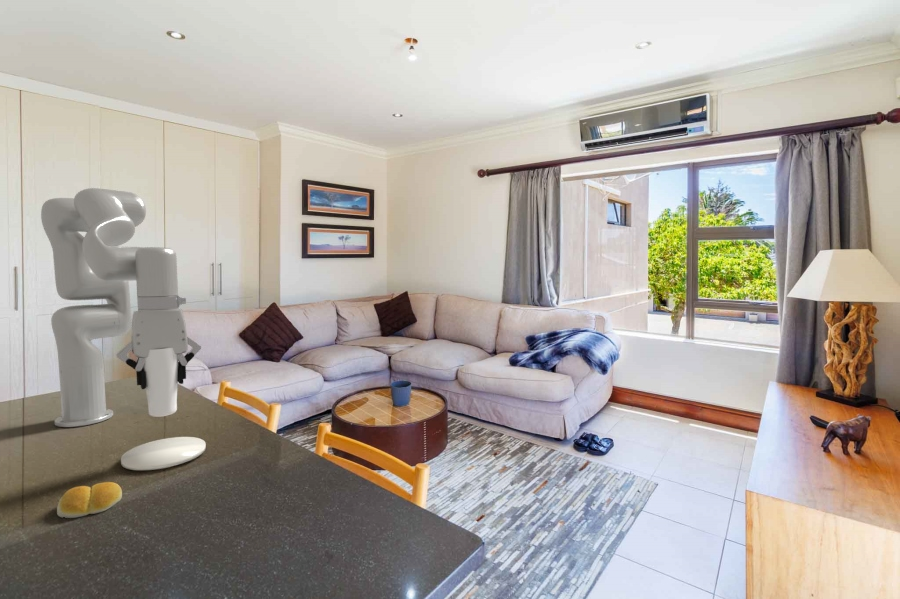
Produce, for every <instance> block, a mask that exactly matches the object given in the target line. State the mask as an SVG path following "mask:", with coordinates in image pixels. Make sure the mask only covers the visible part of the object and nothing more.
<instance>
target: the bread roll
mask: <svg viewBox="0 0 900 599" xmlns="http://www.w3.org/2000/svg"><path fill="white" fill-rule="evenodd" d="M122 497H123V490H122V487H121V486H120V485H119V484H118V483H116V482H111V481H105V482H99V483H96V484H93V485H92V486H91V487H90V486H87V485H81V486H75V487H72V488H70V489H68V490H67V491H65V492H64V494H63V495H62V496H61V497H60V498H59V501H58V503H57V507H56V514H57V516H58V517H60V518H63V517H65V518H64V519H66V518H67V519H75V518H80V517H85V516H88V515H89V514H90V515H94V514H98V513H99V514H100V513H103V512H105V511H107V510H109V509H111V508H113V507H114V506H115V505H116V504H118V503H119V502H120V501H121V500H122Z"/></svg>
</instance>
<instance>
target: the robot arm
mask: <svg viewBox="0 0 900 599" xmlns="http://www.w3.org/2000/svg"><path fill="white" fill-rule="evenodd" d="M40 210H41V211H40V219H41V224H42V228H43V231H44V232H45V235H46V237H47V239H48V241H49V242H50V246H51V248H52V254H53V255H52V257H53V268H54V279H55V280H54V281H55V282H54V283H55V287H56V292H57V295H58V296H59V297H60V298H61V299H63V300H65V301H66V300H67V301H93V300H106V303H104V304H103V303H102V304H100V303H99V304H81V305H69V306H65V307H61V308H59V309H57V310H55V311H54V313H53V314H52V316H51V320H50V322H51V323H50V325H51V329H52V333H53V337H54V339H55V344H56V345H55V346H56V351H57V358H58V359H57V360H58V375H59V389H60V390H59V392H60V407H61V415H60V416H58V417H56V418H55V419H54V425H55V426H56V427H60V428H61V427H62V428H73V427H74V428H76V427H82V426H88V425H93V424H97V423H101V422H104V421H107V420H109V419H111V418H112V417H113V416H114V411H113V409H109V408H107V404H106V403H107V400H106V386H105V385H106V381H105V364H104V356H103V352H102V351H101V349H99V347H98V346H96V345H95V344H94V343H93V342H92V340H98V339H106V338H115V337H121V336H124V335H127V334H129V332H130V331H131V338H130V339H131V340H130V341H129V342H128V343H127V344H126V345H125V346H124V347H123V348H121V349H120V350H119V351H118V352H117V353H116V358H118V359H119V360H121V361H122V362H123V363H124V364H126V365H127V366H129V367H131V368H132V369H133V370H135V371H136V385H137V386H140V388H141V390H146V379H145V371H144V368H143V366H144V364H145V358H146V357H148V355H149V350H152V349H165V348H173V350H174V353H175V354H176V355H177V358H178V384H180V385H182V384H183V385H184V380H186V379H187V369H186V368H187V365H188V363H189V362H190V361H191V360H192V359H193V358H194V357H195V356H196V355H197V354H198V352H200V350H201V349H202V346H201V345H200V344H198V343H197V342H195V341H194V340H193V339H191V338H190V337H189V336H188V334H187V326H186V322H185V321H186V320H185V316H184V312H183V309H181V308H180V306H181V305H186V304H187V298H186V297H184V298H183V297H180V296H179V287H178V284H179V283H178V265H177V264H178V263H177V262H178V260H177V253H176V251H175V250H174V249H173V248H171V247H161V246H160V247H159V246H158V247H157V246H154V247H153V246H152V247H151V246H150V247H148V246H147V247H146V246H145V247H143V246H141V247H140V246H122V245H124V244H126V243H127V242H129V241H130V240H131V239H132V238H133V236H134V235H135V233H136V232H135V231H136V227H138V226H140V225H141V224H142V223H143V222H144V220H145V219H146V213H147V210H146V205H145V203H144V201H143V200H142V198H141V197H140V196H139V195H137V194H136V193H133V192H130V191H123V190H113V189H105V188H98V187H97V188H95V187H93V188H92V187H91V188H85V189H81V190H80V191H78V192H77V193H76V194H75V196H74V198H71V197H55V198H50V199H47V200H45V202H43V204H42V206H41V209H40ZM79 232H82V233H83V232H85V235H82V234H81V233H79ZM129 281H135V282H136V296H137V297H136V300H137V310H135V311H133V314H132V310H131V309H132V308H131V296H130V295H131V294H130V292H131V291H130V284H129ZM188 346H190V348H191V349H190V350H189V351H188V348H189V347H188ZM130 351H131V352H132V354H133V355H134V356H135V357H136V358H137V359H136V360H134V359H133V358H131V357H130V356H128V354H129V353H130ZM187 351H188V352H187ZM184 353H186V354H185V355H184Z"/></svg>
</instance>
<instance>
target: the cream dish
mask: <svg viewBox="0 0 900 599" xmlns="http://www.w3.org/2000/svg"><path fill="white" fill-rule="evenodd" d="M206 446H207V445H206V441H205V440H204V439H203V438H202V439H201V438H199V437H194V436H175V437H168V438H167V437H166V438H162V439H157V440H153V441H149V442H146V443H143V444H139V445H137V446H134V447H133V448H131V449H129V450H127V451H126V452H125V453H123V454H122V456H120V464H121V466H122V467H123V468H125V469H127V470H132V471H152V470H160V469H161V470H162V469H166V468H171V467H174V466H178V465H181V464H184V463H186V462H189V461H190V462H191V461H192V460H194V459H196V458H197V457H199V456H201V455H202V454H203V453H204V452H205V451H206V449H207V448H206Z"/></svg>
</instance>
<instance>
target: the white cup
mask: <svg viewBox="0 0 900 599" xmlns="http://www.w3.org/2000/svg"><path fill="white" fill-rule="evenodd" d="M178 362H179V361H178V358H177V355H176V354H175V353H174V350H173V348H165V349H152V350H149V355H148V357H146V358H145V364H144V366H143V368H144V371H145V379H146V388H145V393H146V399H147V405H148V406H147V407H148V409H147V410H148V415H149V416H151V417H156V418H158V417H159V418H160V417H167V416H169V415H170V416H171V415H173V414H175V413H176V412H177V410H178V401H177V400H178V384H179V382H178Z"/></svg>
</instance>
